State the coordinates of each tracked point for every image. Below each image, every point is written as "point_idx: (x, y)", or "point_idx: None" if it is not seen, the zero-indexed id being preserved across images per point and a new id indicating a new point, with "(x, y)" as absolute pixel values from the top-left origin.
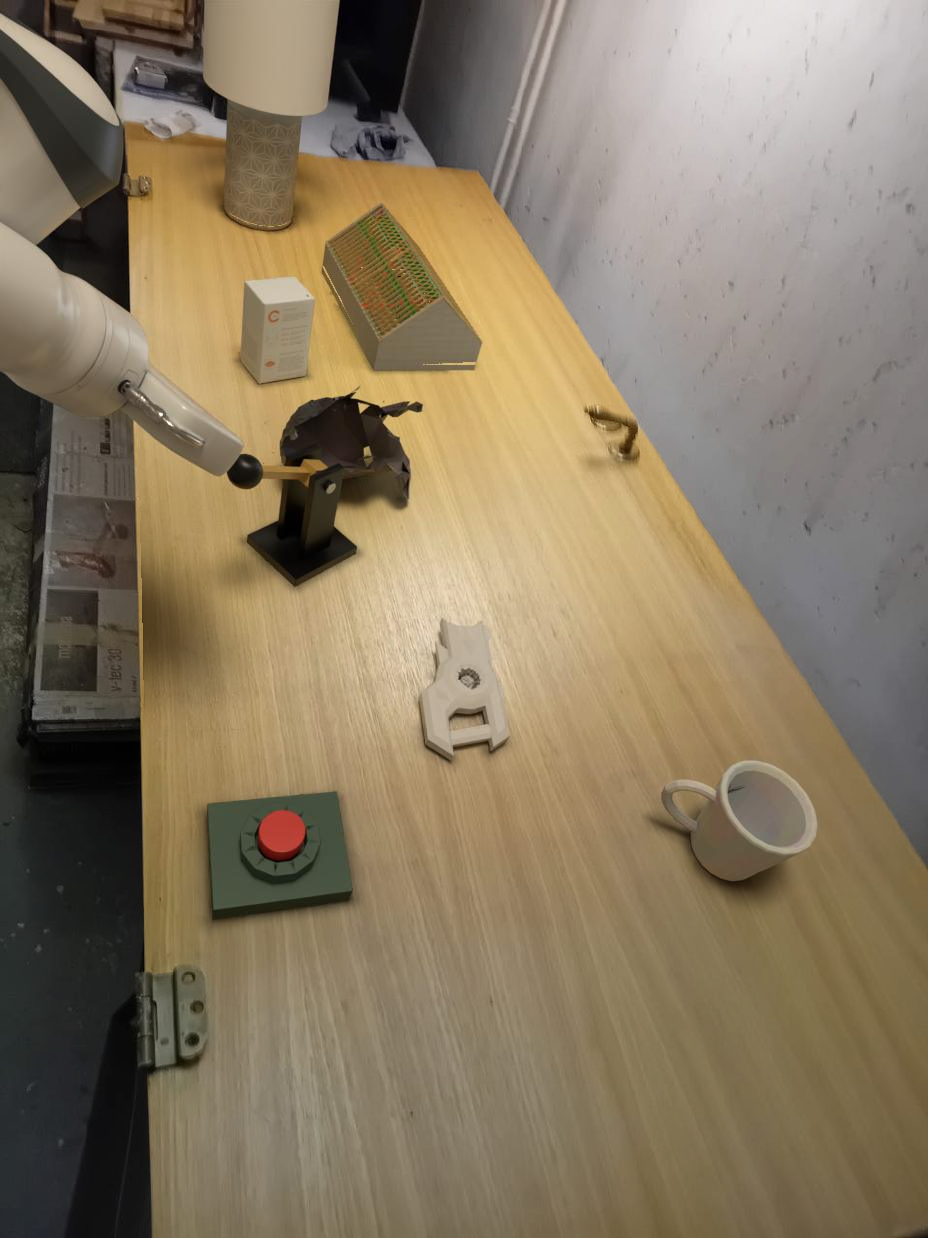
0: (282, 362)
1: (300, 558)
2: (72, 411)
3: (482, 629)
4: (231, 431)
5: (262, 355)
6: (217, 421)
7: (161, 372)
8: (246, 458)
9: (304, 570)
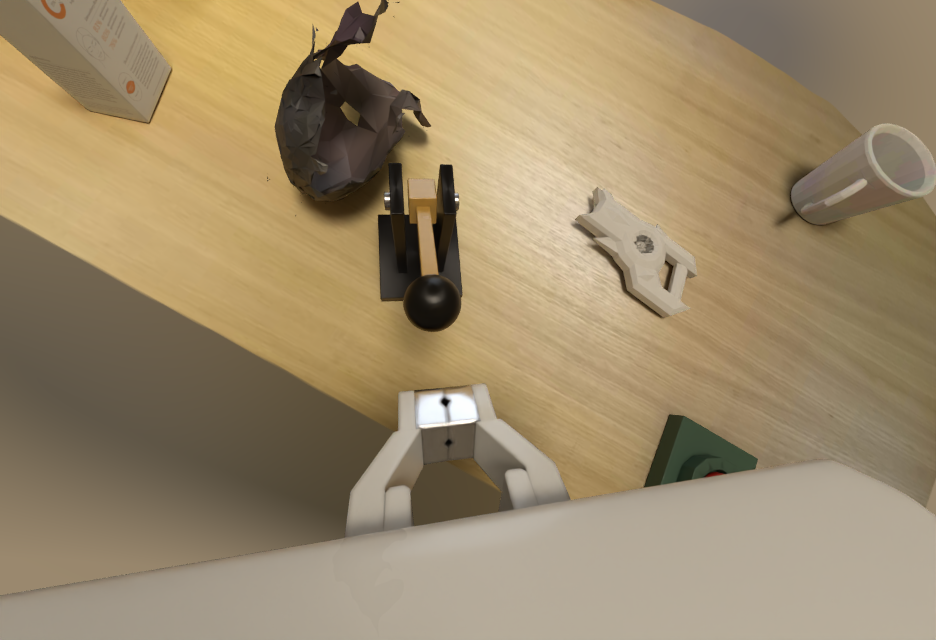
0: (138, 72)
1: (439, 272)
2: None
3: (608, 195)
4: (852, 498)
5: (112, 83)
6: (867, 554)
7: (418, 567)
8: (436, 295)
9: (455, 279)
